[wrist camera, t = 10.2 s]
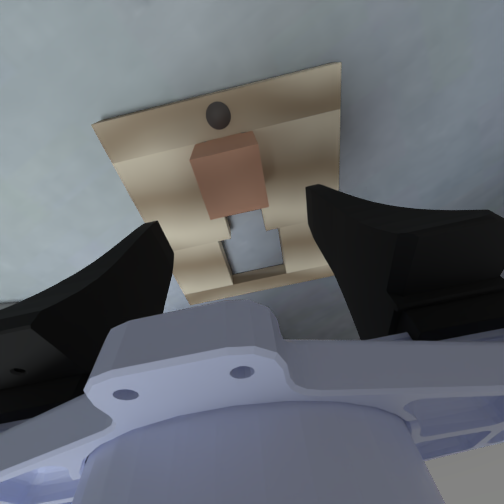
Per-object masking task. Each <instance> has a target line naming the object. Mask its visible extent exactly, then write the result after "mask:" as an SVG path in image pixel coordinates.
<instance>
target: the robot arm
mask: <svg viewBox="0 0 504 504" xmlns="http://www.w3.org/2000/svg"><path fill="white" fill-rule="evenodd" d="M305 190H306V204H307V219H308V226H309V228H310V231H311V233H312V236H313V238H314V240H315V242H316V244H317V246H318V248H319V249H320V251H321V253H322V254H323V256H324V258H325V260H326V261H327V263H328V265H329V266H330V268H331V270H332V272H333V273H334V275H335V277H336V279H337V282H338V284H339V286H340V289H341V291H342V293H343V296H344V298H345V301H346V303H347V305H348V308H349V310H350V313H351V315H352V318H353V321H354V323H355V326H356V328H357V331H358V334H359V336H360V339H361V340H291V339H283V337H282V335H281V332H280V328H279V323H278V319H277V318H276V316H275V315H274V314H273V312H272V311H271V310H270V308H269V307H267V306H264V305H261V304H259V303H256V302H253V301H251V300H226V301H221V302H216V303H211V304H207V305H202V306H197V307H192V308H187V309H182V310H178V311H173V312H168V313H163V310H164V305H165V301H166V297H167V293H168V289H169V285H170V281H171V277H172V273H173V266H174V252H173V250H172V248H171V246H170V244H169V242H168V240H167V238H166V236H165V234H164V232H163V230H162V228H161V226H160V224H159V222H158V220H157V221H152V222H148V223H145V224H143V225H141V226H140V227H138V228H137V229H136V230H134V231H133V232H132V233H131V234H129V235H128V236H127V237H126V238H124V239H123V240H122V241H121V242H119V243H118V244H117V245H116V246H114V247H113V248H112V249H110V250H109V251H108V252H106V253H105V254H104V255H103V256H101V257H100V258H99V259H97V260H96V261H94V262H93V263H91V264H90V265H88V266H87V267H85V268H84V269H82V270H80V271H79V272H77V273H76V274H74V275H72V276H70V277H69V278H67V279H65V280H63V281H61V282H59V283H58V284H56V285H54V286H52V287H50V288H48V289H46V290H44V291H42V292H40V293H38V294H36V295H34V296H32V297H29V298H27V299H25V300H23V301H21V302H18V303H16V304H14V305H11V306H9V307H6V308H4V309H1V310H0V504H445V502H444V500H443V498H442V496H441V494H440V492H439V490H438V488H437V486H436V484H435V482H434V480H433V478H432V476H431V474H430V472H429V470H428V468H427V467H426V464H425V462H424V461H427V460H431V459H435V458H440V457H444V456H448V455H452V454H456V453H461V452H465V451H469V450H473V449H477V448H482V447H485V446H490V445H494V444H498V443H503V442H504V279H503V278H502V277H501V276H500V275H501V273H502V271H503V270H504V218H502V217H501V216H499V215H497V214H495V213H493V212H492V211H490V210H426V209H413V208H405V207H397V206H390V205H385V204H380V203H376V202H371V201H367V200H364V199H361V198H357V197H354V196H351V195H348V194H345V193H343V192H340V191H337V190H335V189H332V188H330V187H327V186H324V185H321V184H316V185H311V186H307V187H305Z"/></svg>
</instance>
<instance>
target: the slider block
mask: <svg viewBox="0 0 504 504" xmlns="http://www.w3.org/2000/svg"><path fill="white" fill-rule="evenodd" d="M189 161H190V164H191V166H192V169H193V172H194V175H195V178H196V181H197V183H198V186H199V189H200V192H201V195H202V198H203V200H204V203H205V206H206V209H207V212H208V215H209V217H210V220H213V219H217V218H222V217H226V216H231V215H235V214H239V213H244V212H248V211H253V210H257V209H262V208H266V207H269V203H268V197H267V192H266V186H265V180H264V174H263V169H262V163H261V157H260V151H259V146H258V142H257V140H256V138H255V135H254V133H253V131H249V132H245V133H238V134H234V135H230V136H226V137H222V138H217V139H213V140H209V141H206V142H203V143H199V144H195V146H194V149H193V151H192V154H191V157H190V160H189Z"/></svg>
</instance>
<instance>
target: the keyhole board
mask: <svg viewBox="0 0 504 504" xmlns="http://www.w3.org/2000/svg"><path fill="white" fill-rule="evenodd" d="M340 107H341V62H334V63H329V64H325V65H321V66H317V67H313V68H309V69H305V70H301V71H297V72H293V73H289V74H285V75H281V76H277V77H273V78H269V79H265V80H261V81H257V82H253V83H249V84H245V85H241V86H237V87H233V88H229V89H225V90H221V91H217V92H213V93H209V94H205V95H201V96H197V97H193V98H189V99H185V100H181V101H177V102H173V103H169V104H165V105H161V106H157V107H153V108H149V109H145V110H141V111H137V112H133V113H129V114H125V115H121V116H117V117H113V118H109V119H105V120H101V121H99V122H96V123H94V124H92V125H91V126H92V127H93V129H94V131H95V133H96V135H97V137H98V138H99V140H100V142H101V144H102V146H103V148H104V149H105V151H106V153H107V155H108V157H109V158H110V160H111V162H112V164H113V166H114V168H115V169H116V171H117V173H118V175H119V177H120V178H121V180H122V182H123V184H124V186H125V188H126V189H127V191H128V193H129V195H130V197H131V198H132V200H133V202H134V204H135V206H136V208H137V209H138V211H139V213H140V215H141V217H142V218H143V220H144V222H145V223H148V222H152V221H157V220H158V222H159V224H160V226H161V228H162V230H163V232H164V234H165V236H166V238H167V240H168V242H169V244H170V246H171V248H172V250H173V252H174V266H173V275H174V277H175V279H176V280H177V282H178V284H179V286H180V288H181V289H182V291H183V293H184V295H185V297H186V299H187V300H188V302H189V304H190V305H194V304H199V303H203V302H208V301H213V300H218V299H223V298H228V297H232V296H237V295H242V294H247V293H252V292H257V291H261V290H266V289H271V288H276V287H281V286H286V285H290V284H295V283H300V282H305V281H310V280H315V279H319V278H324V277H329V276H334V273H333V272H332V270H331V268H330V266H329V265H328V263H327V261H326V260H325V258H324V256H323V254H322V253H321V251H320V249H319V248H318V246H317V244H316V242H315V240H314V238H313V236H312V233H311V231H310V228H309V226H308V219H307V204H306V190H305V187H307V186H311V185H316V184H321V185H324V186H327V187H330V188H332V189H335V190H337V191H339V155H340ZM249 131H253V133H254V135H255V138H256V140H257V142H258V146H259V151H260V157H261V163H262V169H263V174H264V180H265V186H266V192H267V197H268V203H269V207H266V208H262V209H261V210H262V215H263V220H264V224H265V228H266V231H268V230H272V229H277V228H278V231H279V238H280V244H281V250H282V256H283V263H284V264H281V265H277V266H272V267H267V268H262V269H258V270H253V271H248V272H244V273H239V274H234V275H233V274H232V271H231V268H230V266H229V263H228V260H227V257H226V254H225V251H224V248H223V245H222V242H221V241H222V240H226V239H231V230H230V226H229V223H228V220H227V216H226V217H222V218H217V219H213V220H210V217H209V215H208V212H207V209H206V206H205V203H204V200H203V198H202V195H201V192H200V189H199V186H198V183H197V181H196V178H195V175H194V172H193V169H192V166H191V164H190V161H189V160H190V157H191V154H192V151H193V149H194V146H195V144H199V143H203V142H205V141H209V140H213V139H217V138H222V137H226V136H230V135H234V134H238V133H242V132H249Z"/></svg>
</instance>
